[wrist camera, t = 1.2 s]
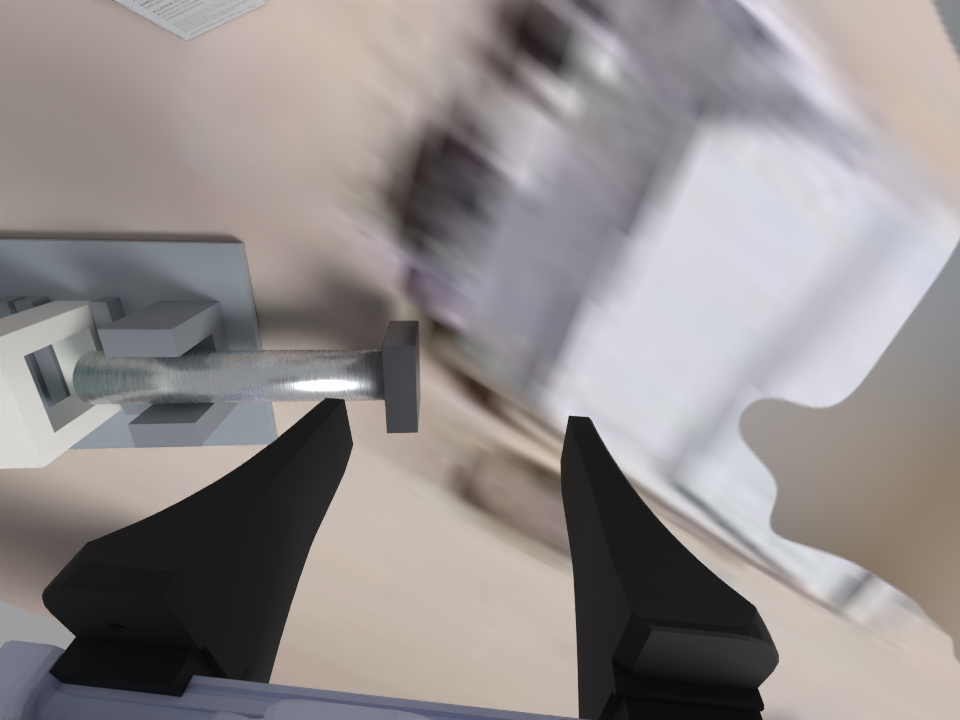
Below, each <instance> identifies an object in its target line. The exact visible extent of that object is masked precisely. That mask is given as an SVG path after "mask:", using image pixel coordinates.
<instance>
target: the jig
mask: <svg viewBox="0 0 960 720" xmlns="http://www.w3.org/2000/svg"><path fill="white" fill-rule="evenodd" d="M56 300H61V301H90V302H89V305H90V308H91V311H92V314H93V317H94V320H95V323H96V326H97V331H98V334H99V337H100V340H101V344H102V347H103V350H104V353H105V356H106V358H111V357H179V356H181V355H182V354H184V353H185V352H186V351H188V350H262V345H261V339H260V334H259V328H258V322H257V316H256V311H255V305H254V299H253V293H252V287H251V282H250V276H249V270H248V264H247V259H246V253H245V247H244V243H241V242H187V241H133V240H80V239H26V238H0V319H1V318H4V317H7V316H10V315H13V314H16V313H19V312H22V311H25V310H28V309H31V308H34V307H37V306H40V305H43V304H47V303H50V302H53V301H56ZM24 358H25V361H26V363H27V366H28V368H29V371H30V373H31V376H32V378H33V381H34V383H35V386H36V388H37V391H38V393H39V396H40V398H41V401H42V403H43V406H44V408H45V410H47V409H49V408H50V407H52V406H54V405H55V404H57V403H59V402H60V401H62V400H64V399H65V398H67V397H69V396H70V395H71V394H70V392H69V389H68V386H67V384H66V381H65V378H64V376H63V373H62V370H61V367H60V365H59V362H58V359H57V357H56V354H55V351H54V349H53V346H52V344H51V345H48V346H46V347H44V348H41V349H39V350H37V351H35V352H32V353H30V354H28V355H25V356H24ZM122 407H123V409H121V410H120V411H119V412H117V413H116V414H115V415H113V416H112V417H110V418H109V419H108V420H106V421H105V422H104V423H102V424H101V425H100V426H98V427H97V428H96V429H94V430H93V431H92V432H90V433H89V434H88V435H86V436H85V437H84V438H82V439H81V440H79V441H78V442H77V443H75V444H74V445H73V446H71V447H70V448H69V449H97V448H145V447H187V446H223V445H265V444H271V443H272V442H273V441H275V440H276V439H277V432H276V426H275V420H274V415H273V409H272V403H271V402H231V403H163V404H122Z"/></svg>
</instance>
